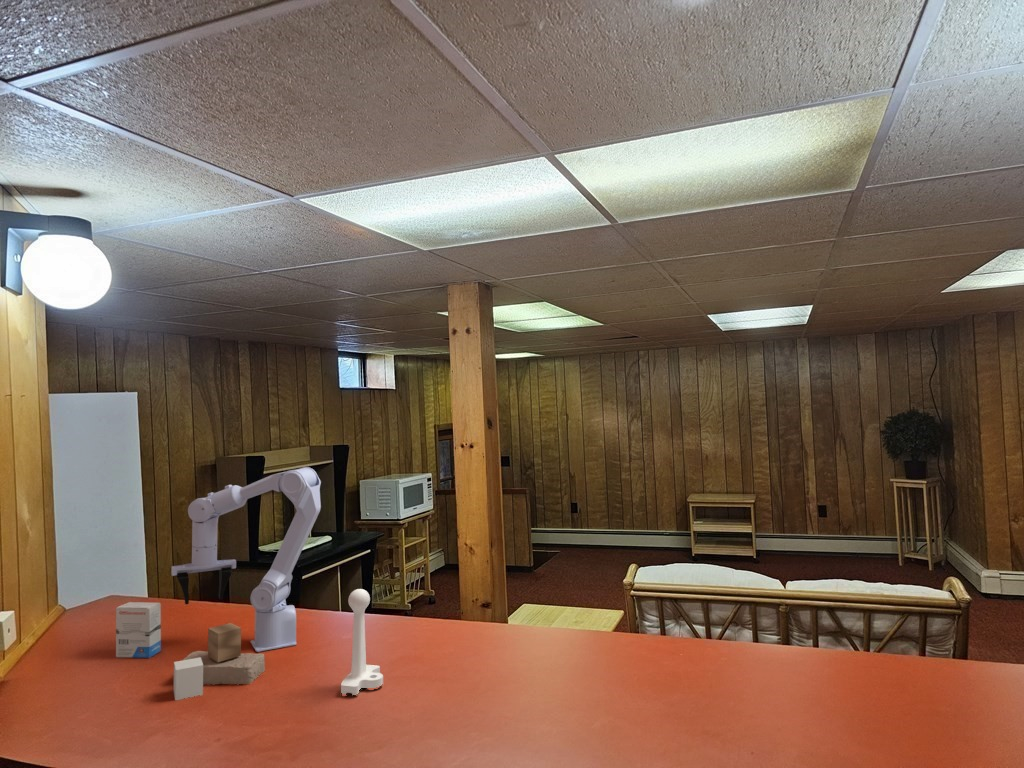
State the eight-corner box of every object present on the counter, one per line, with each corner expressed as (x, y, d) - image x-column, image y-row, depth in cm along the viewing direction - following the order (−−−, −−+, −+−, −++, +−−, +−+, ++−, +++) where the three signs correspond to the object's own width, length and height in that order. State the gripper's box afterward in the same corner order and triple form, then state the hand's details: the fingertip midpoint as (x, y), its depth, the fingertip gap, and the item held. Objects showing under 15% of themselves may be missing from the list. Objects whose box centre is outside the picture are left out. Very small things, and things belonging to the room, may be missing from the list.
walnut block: (230, 649, 147) (230, 622, 147) (240, 655, 143) (241, 627, 144) (207, 656, 143) (208, 628, 143) (217, 662, 140) (218, 633, 140)
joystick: (361, 674, 143) (361, 581, 144) (393, 677, 142) (393, 583, 142) (335, 695, 133) (336, 595, 133) (370, 699, 131) (370, 598, 132)
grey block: (200, 686, 138) (200, 657, 138) (202, 695, 133) (203, 665, 134) (173, 691, 135) (174, 661, 135) (175, 700, 131) (175, 670, 131)
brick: (266, 671, 146) (266, 650, 146) (250, 687, 138) (250, 664, 138) (193, 671, 147) (193, 650, 147) (172, 687, 138) (173, 664, 138)
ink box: (162, 651, 158) (162, 601, 158) (148, 659, 153) (149, 607, 153) (128, 650, 159) (129, 600, 159) (114, 657, 154) (115, 606, 154)
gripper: (233, 540, 171) (232, 592, 171) (170, 546, 164) (169, 601, 163) (237, 544, 165) (237, 599, 164) (173, 551, 158) (172, 608, 157)
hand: (203, 600), depth 163 cm, fingers open, 7 cm apart
